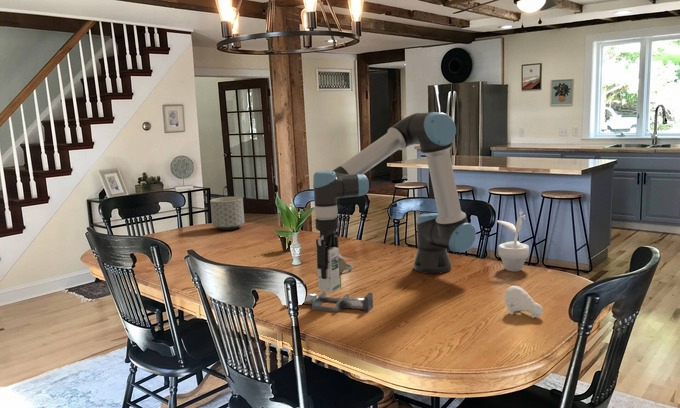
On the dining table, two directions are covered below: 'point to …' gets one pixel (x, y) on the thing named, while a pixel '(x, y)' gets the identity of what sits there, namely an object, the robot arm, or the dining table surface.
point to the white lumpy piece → (521, 302)
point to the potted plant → (513, 248)
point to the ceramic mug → (344, 264)
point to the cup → (283, 242)
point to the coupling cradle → (340, 302)
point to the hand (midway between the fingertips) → (329, 284)
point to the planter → (227, 212)
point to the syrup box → (332, 271)
